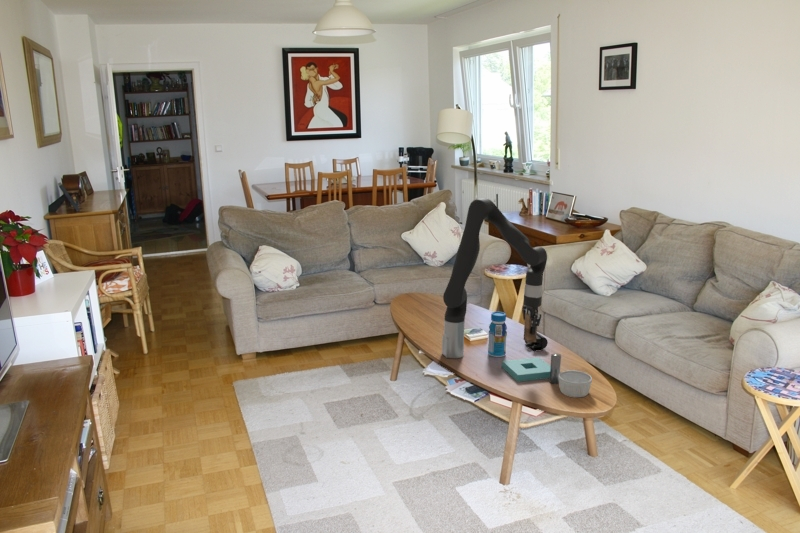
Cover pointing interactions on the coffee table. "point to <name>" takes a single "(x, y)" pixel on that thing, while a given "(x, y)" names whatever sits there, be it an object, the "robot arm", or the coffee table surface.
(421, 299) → the coffee table surface
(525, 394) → the coffee table surface
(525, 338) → the square peg
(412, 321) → the coffee table surface
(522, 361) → the socket block
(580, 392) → the ramekin
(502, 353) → the beverage bottle
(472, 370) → the coffee table surface
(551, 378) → the round peg
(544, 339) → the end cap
